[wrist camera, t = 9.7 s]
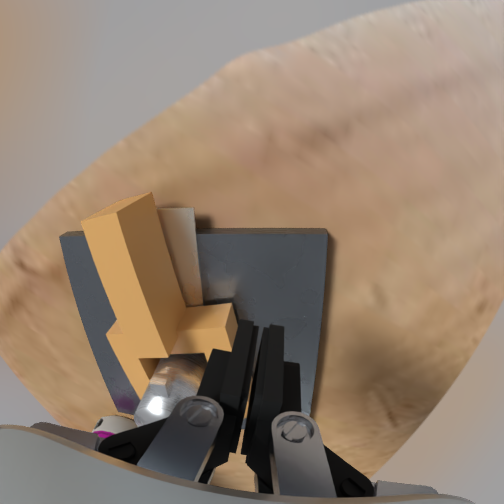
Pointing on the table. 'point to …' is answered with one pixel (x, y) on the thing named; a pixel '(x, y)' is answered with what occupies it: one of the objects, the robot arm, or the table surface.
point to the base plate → (212, 301)
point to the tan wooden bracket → (149, 293)
